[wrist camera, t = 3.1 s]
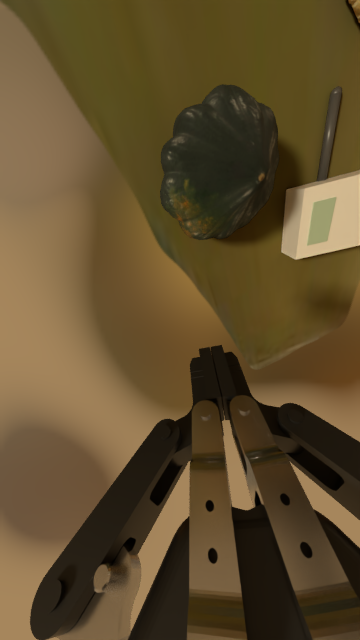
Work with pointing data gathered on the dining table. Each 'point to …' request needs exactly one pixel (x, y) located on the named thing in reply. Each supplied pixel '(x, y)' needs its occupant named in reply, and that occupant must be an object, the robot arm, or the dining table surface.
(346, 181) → the switch block
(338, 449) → the robot arm
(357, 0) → the croissant
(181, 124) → the squash
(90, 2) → the dining table surface
